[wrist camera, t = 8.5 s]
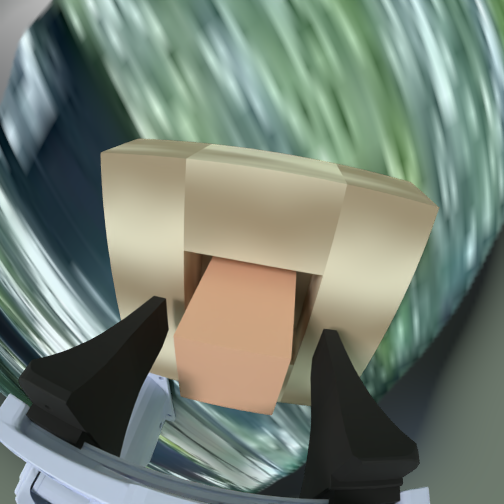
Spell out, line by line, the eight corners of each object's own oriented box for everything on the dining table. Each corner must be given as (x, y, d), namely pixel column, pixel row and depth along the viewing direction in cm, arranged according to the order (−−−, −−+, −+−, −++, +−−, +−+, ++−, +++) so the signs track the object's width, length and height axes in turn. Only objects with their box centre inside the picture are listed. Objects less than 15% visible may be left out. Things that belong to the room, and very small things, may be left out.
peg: (284, 312, 17) (271, 415, 11) (217, 300, 18) (180, 396, 12) (296, 253, 15) (290, 358, 9) (220, 241, 16) (173, 335, 10)
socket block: (337, 369, 20) (339, 408, 17) (151, 333, 21) (133, 367, 18) (411, 182, 13) (439, 207, 10) (139, 138, 14) (100, 152, 11)
